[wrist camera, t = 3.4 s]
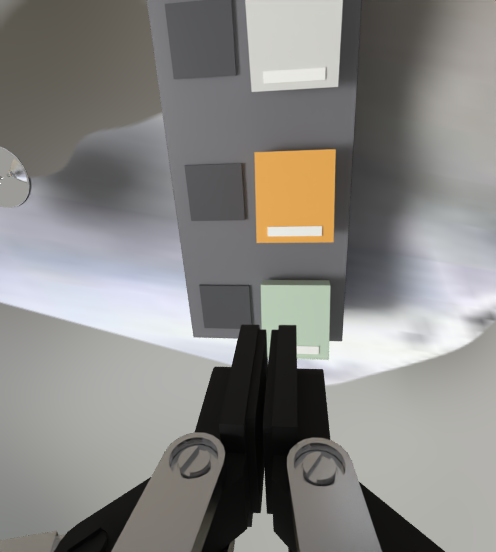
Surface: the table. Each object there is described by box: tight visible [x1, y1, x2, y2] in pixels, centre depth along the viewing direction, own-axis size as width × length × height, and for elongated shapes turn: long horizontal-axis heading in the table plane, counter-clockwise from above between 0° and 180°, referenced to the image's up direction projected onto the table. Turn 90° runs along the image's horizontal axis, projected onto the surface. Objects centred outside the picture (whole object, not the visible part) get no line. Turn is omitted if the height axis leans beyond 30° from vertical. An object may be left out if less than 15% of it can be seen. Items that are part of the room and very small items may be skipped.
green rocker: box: [261, 280, 330, 360], centre depth 24 cm, size 4×5×1 cm
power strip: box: [147, 0, 362, 341], centre depth 23 cm, size 10×25×4 cm, turn 3°
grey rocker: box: [245, 0, 343, 92], centre depth 17 cm, size 4×5×1 cm
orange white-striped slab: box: [254, 149, 336, 243], centre depth 21 cm, size 4×5×1 cm
